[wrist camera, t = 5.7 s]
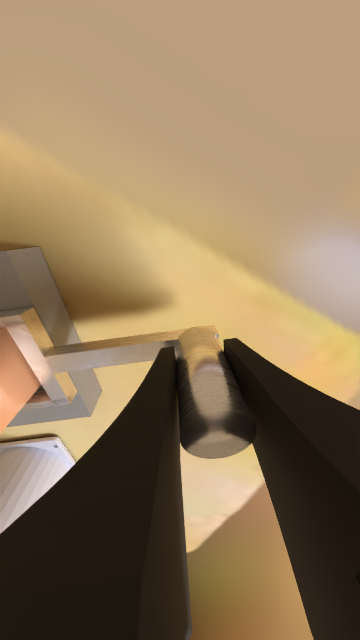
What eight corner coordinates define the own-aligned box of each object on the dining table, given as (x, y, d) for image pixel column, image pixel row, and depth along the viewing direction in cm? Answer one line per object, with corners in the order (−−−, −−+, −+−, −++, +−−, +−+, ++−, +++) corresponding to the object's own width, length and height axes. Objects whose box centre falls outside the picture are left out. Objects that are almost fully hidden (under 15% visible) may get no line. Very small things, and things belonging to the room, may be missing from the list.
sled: (212, 282, 10) (265, 348, 4) (216, 373, 12) (251, 482, 7) (-117, 327, 10) (-458, 443, 4) (-40, 406, 13) (-194, 536, 7)
